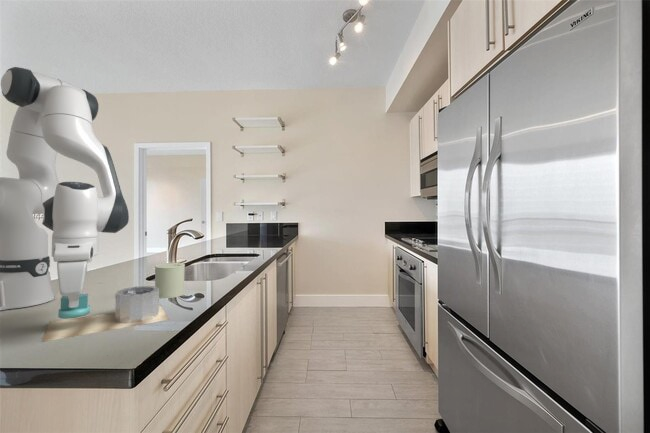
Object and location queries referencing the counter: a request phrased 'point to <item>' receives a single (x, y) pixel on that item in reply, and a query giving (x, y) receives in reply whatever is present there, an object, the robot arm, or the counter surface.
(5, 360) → the counter surface
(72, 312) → the teal disc with post
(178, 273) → the can
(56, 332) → the base plate
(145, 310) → the white thick faceted ring
